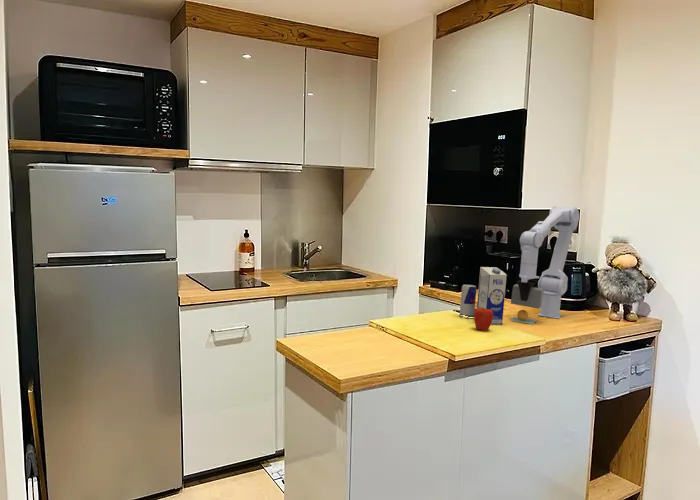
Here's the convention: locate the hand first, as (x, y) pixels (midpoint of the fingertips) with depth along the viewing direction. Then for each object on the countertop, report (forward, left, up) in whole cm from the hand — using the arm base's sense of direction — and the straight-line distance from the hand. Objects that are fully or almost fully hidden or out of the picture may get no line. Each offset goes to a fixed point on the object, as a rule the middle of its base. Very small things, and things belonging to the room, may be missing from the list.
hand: (525, 299), depth 196 cm
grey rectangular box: (0, 0, -2) cm, 2 cm away
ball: (0, 0, -6) cm, 6 cm away
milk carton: (+13, -10, -8) cm, 18 cm away
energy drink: (+10, -19, -8) cm, 23 cm away
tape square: (0, 0, -8) cm, 8 cm away
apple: (+27, -9, -8) cm, 30 cm away
